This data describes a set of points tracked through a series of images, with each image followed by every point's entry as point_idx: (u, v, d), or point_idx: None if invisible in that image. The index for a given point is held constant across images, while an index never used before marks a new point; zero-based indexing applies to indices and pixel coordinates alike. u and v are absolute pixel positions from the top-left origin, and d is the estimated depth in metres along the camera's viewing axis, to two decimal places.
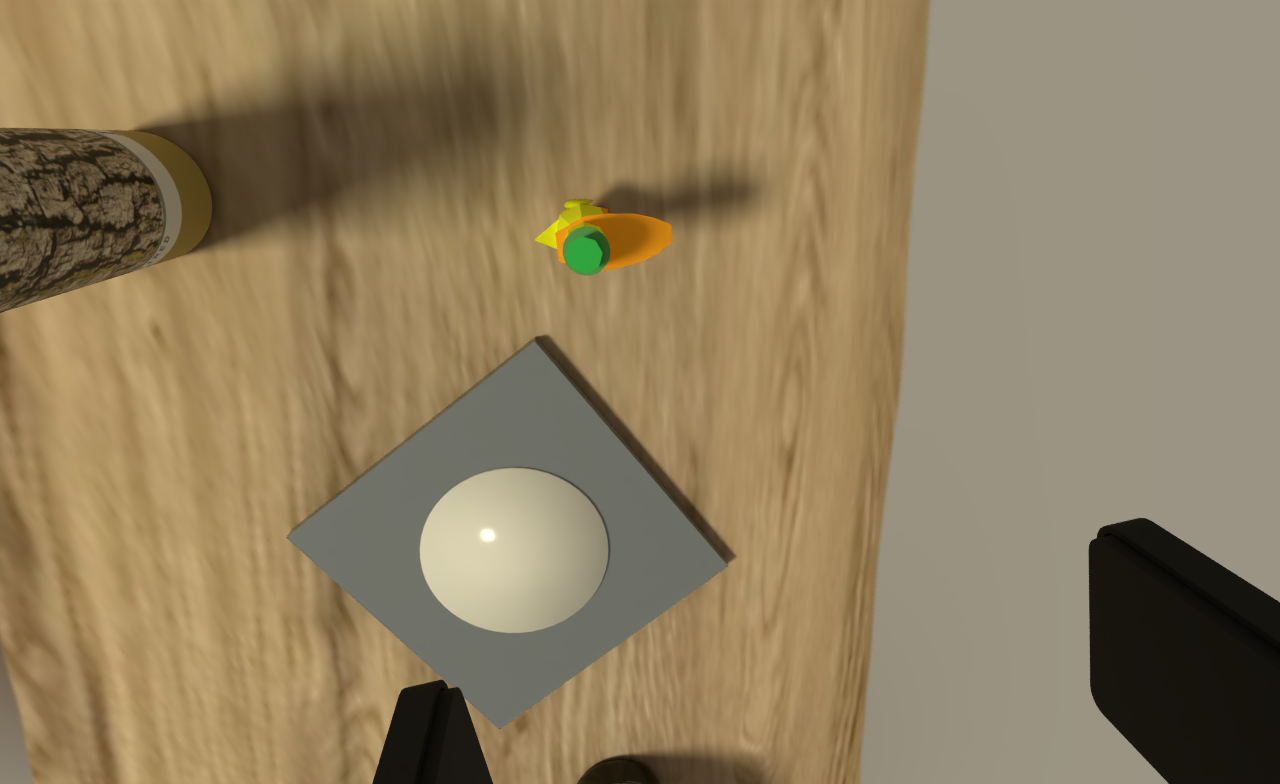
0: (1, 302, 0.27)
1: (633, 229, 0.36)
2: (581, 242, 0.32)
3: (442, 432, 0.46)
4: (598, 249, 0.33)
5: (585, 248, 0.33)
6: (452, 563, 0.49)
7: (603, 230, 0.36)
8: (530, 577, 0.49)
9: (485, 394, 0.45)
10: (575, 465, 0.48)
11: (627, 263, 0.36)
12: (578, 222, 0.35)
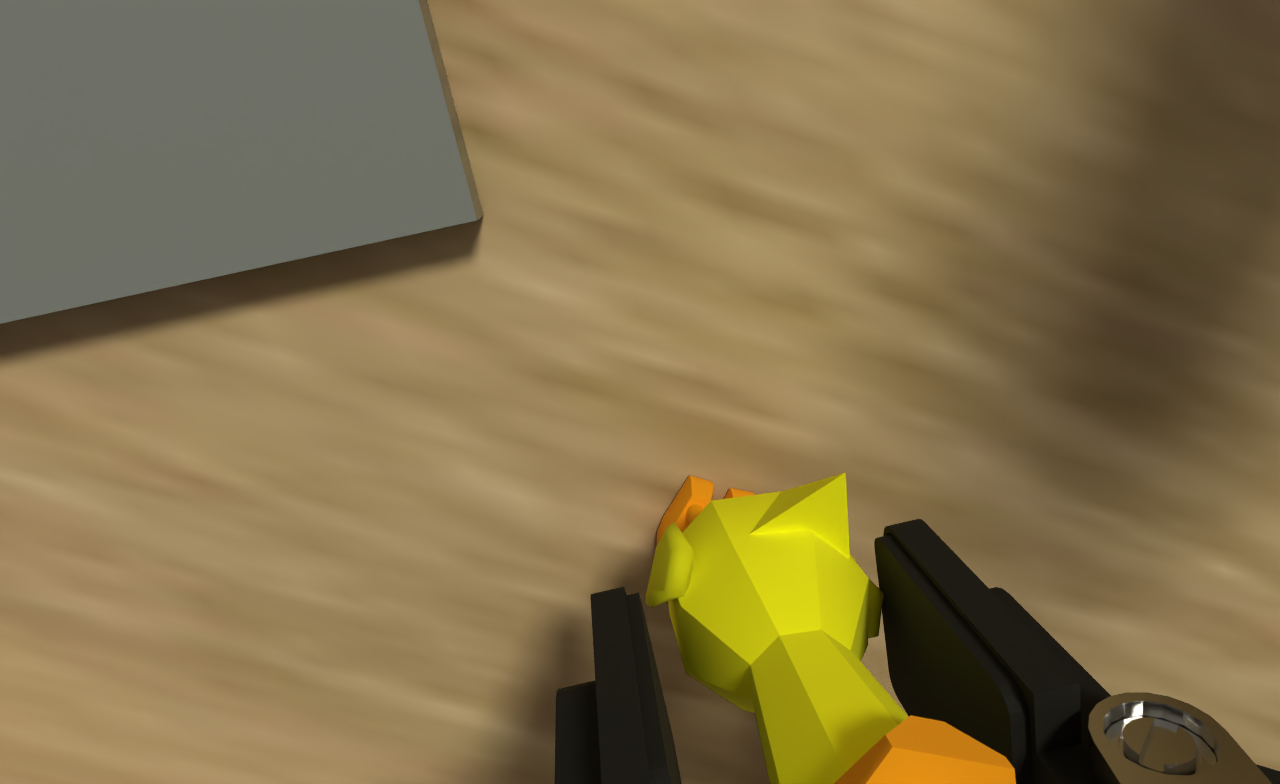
0: None
1: None
2: None
3: None
4: None
5: None
6: None
7: None
8: None
9: None
10: None
11: None
12: None
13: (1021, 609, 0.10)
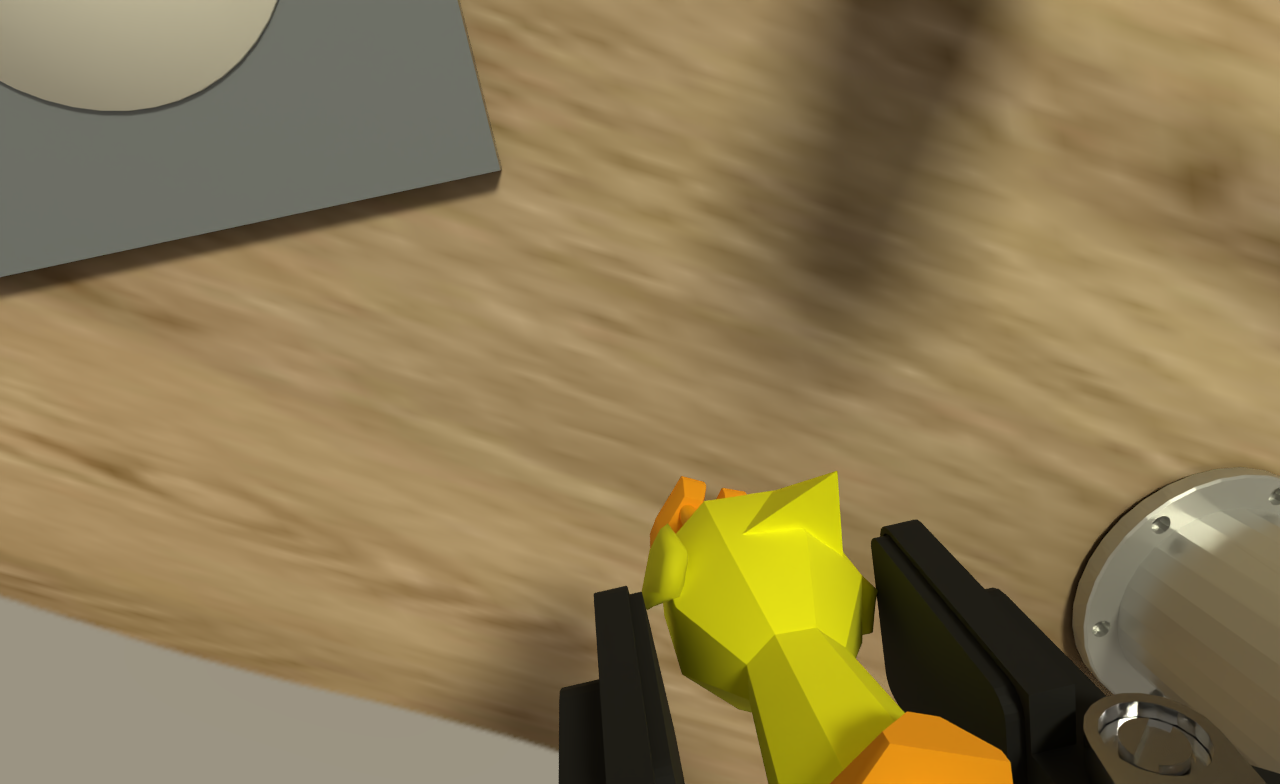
0: None
1: None
2: None
3: None
4: None
5: None
6: None
7: None
8: None
9: (443, 34, 0.24)
10: (236, 118, 0.24)
11: None
12: None
13: (1016, 609, 0.10)
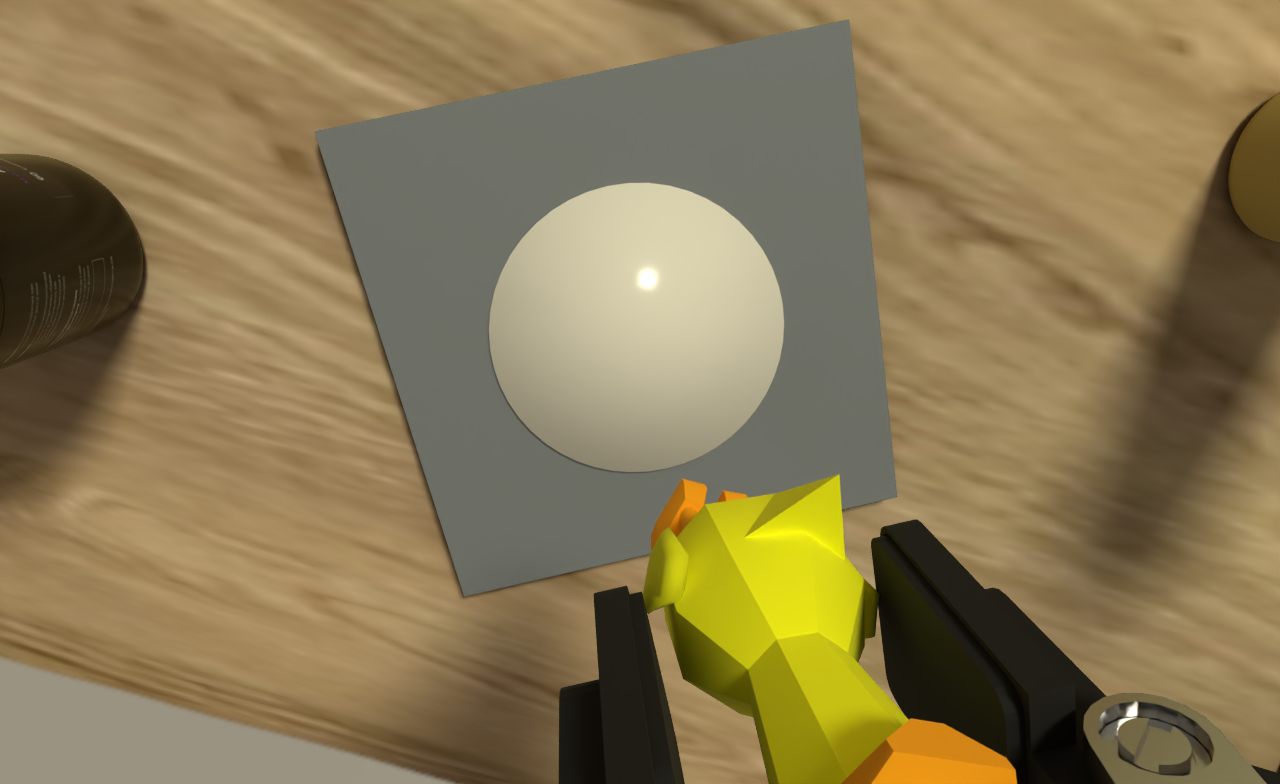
0: None
1: None
2: None
3: (859, 334, 0.32)
4: None
5: None
6: (673, 240, 0.30)
7: None
8: (589, 337, 0.31)
9: (873, 411, 0.33)
10: (719, 471, 0.33)
11: None
12: None
13: (1017, 609, 0.10)
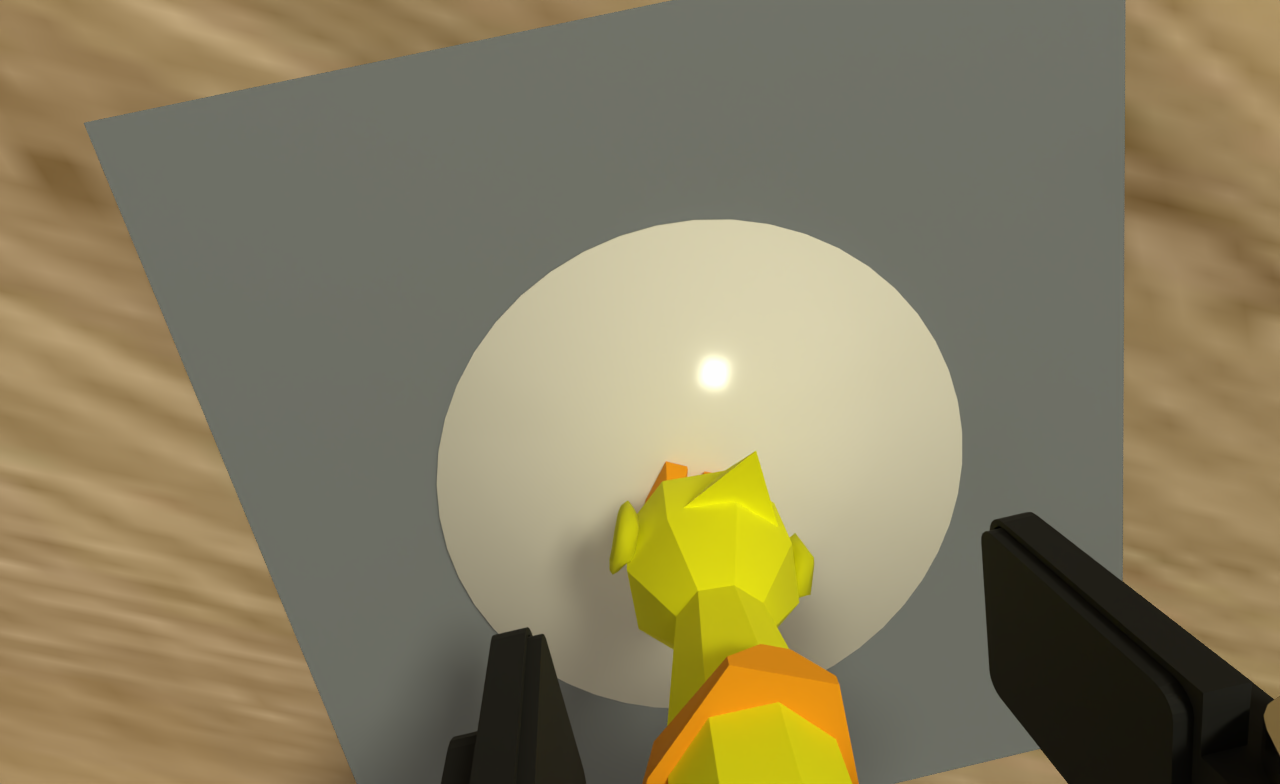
0: None
1: None
2: None
3: (1087, 477, 0.18)
4: None
5: None
6: (774, 324, 0.16)
7: None
8: (618, 493, 0.17)
9: None
10: None
11: None
12: None
13: None
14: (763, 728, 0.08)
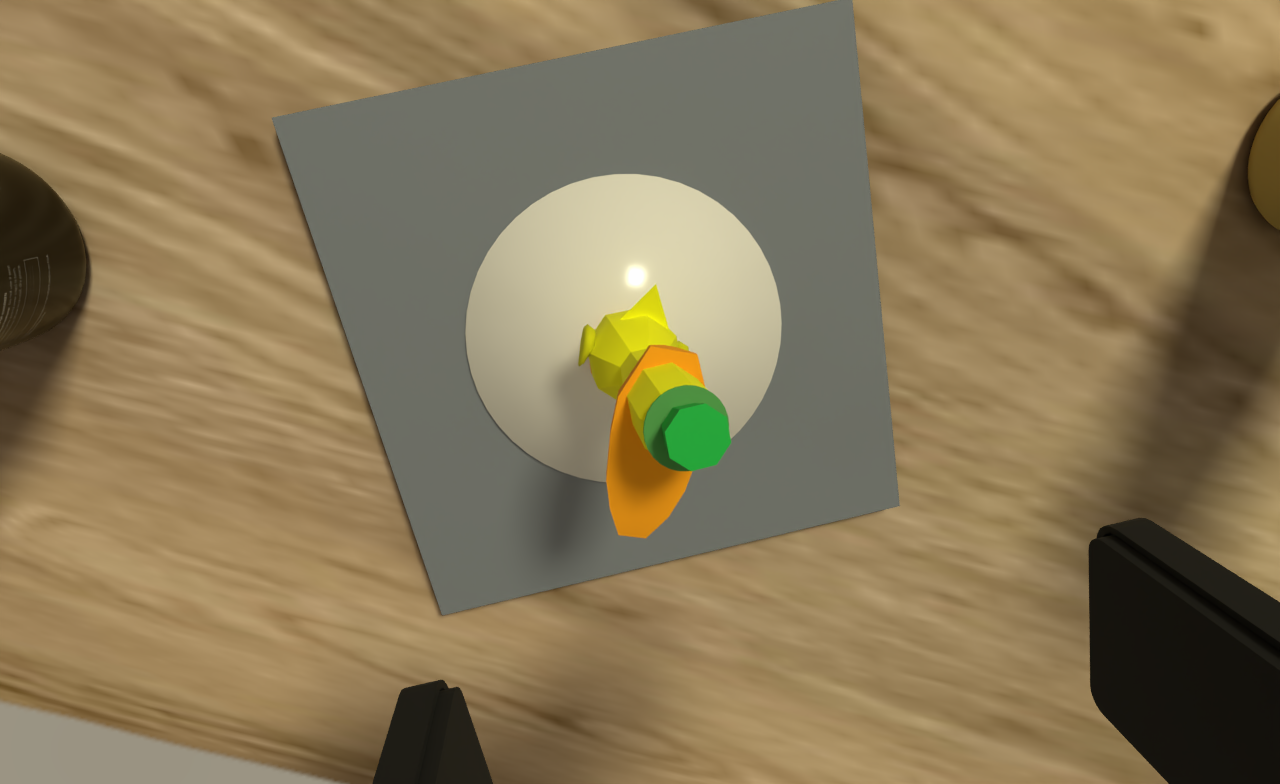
0: None
1: (661, 482, 0.21)
2: (721, 439, 0.17)
3: (861, 335, 0.30)
4: (700, 466, 0.17)
5: (708, 443, 0.17)
6: (663, 236, 0.28)
7: None
8: (574, 340, 0.28)
9: (874, 416, 0.31)
10: (713, 480, 0.31)
11: (611, 459, 0.21)
12: None
13: None
14: (666, 367, 0.20)
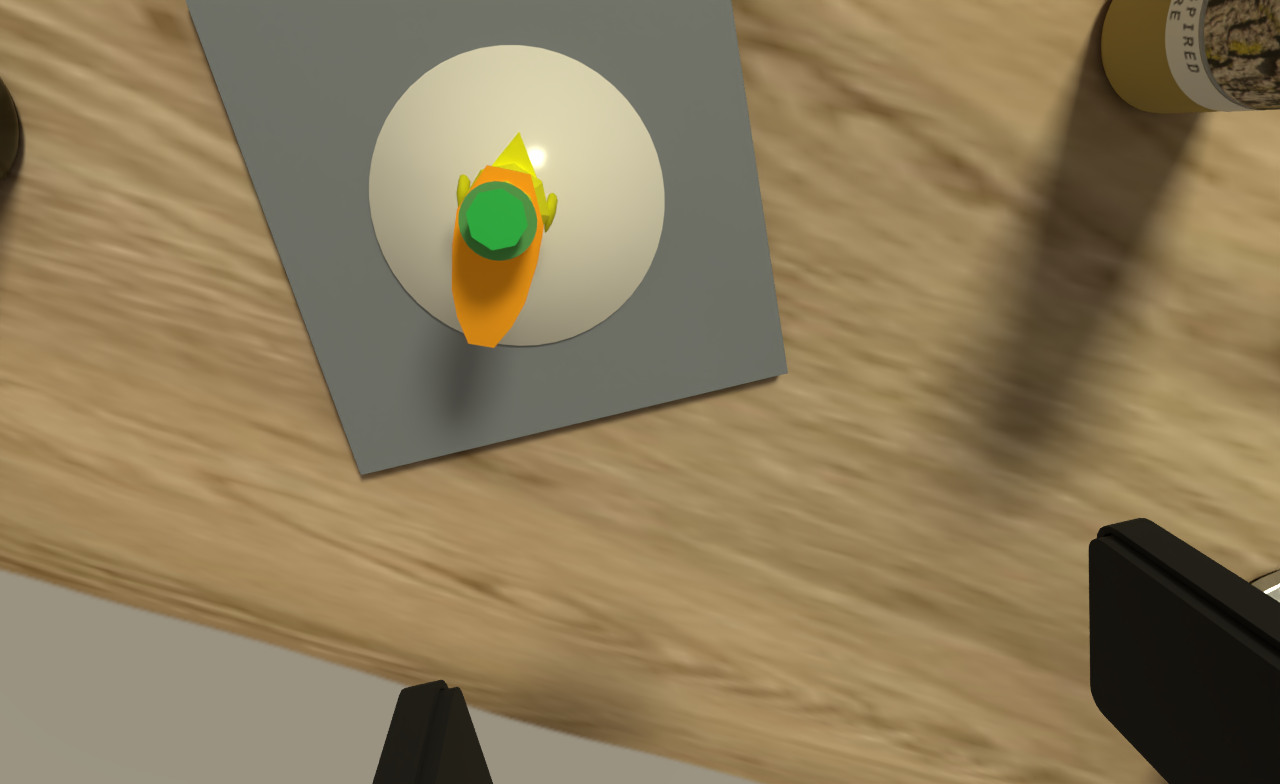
0: None
1: (503, 293, 0.24)
2: (518, 222, 0.20)
3: (741, 204, 0.32)
4: (499, 245, 0.20)
5: (506, 225, 0.20)
6: (548, 105, 0.30)
7: None
8: None
9: (758, 284, 0.34)
10: (609, 345, 0.34)
11: (454, 269, 0.23)
12: (537, 216, 0.23)
13: None
14: None
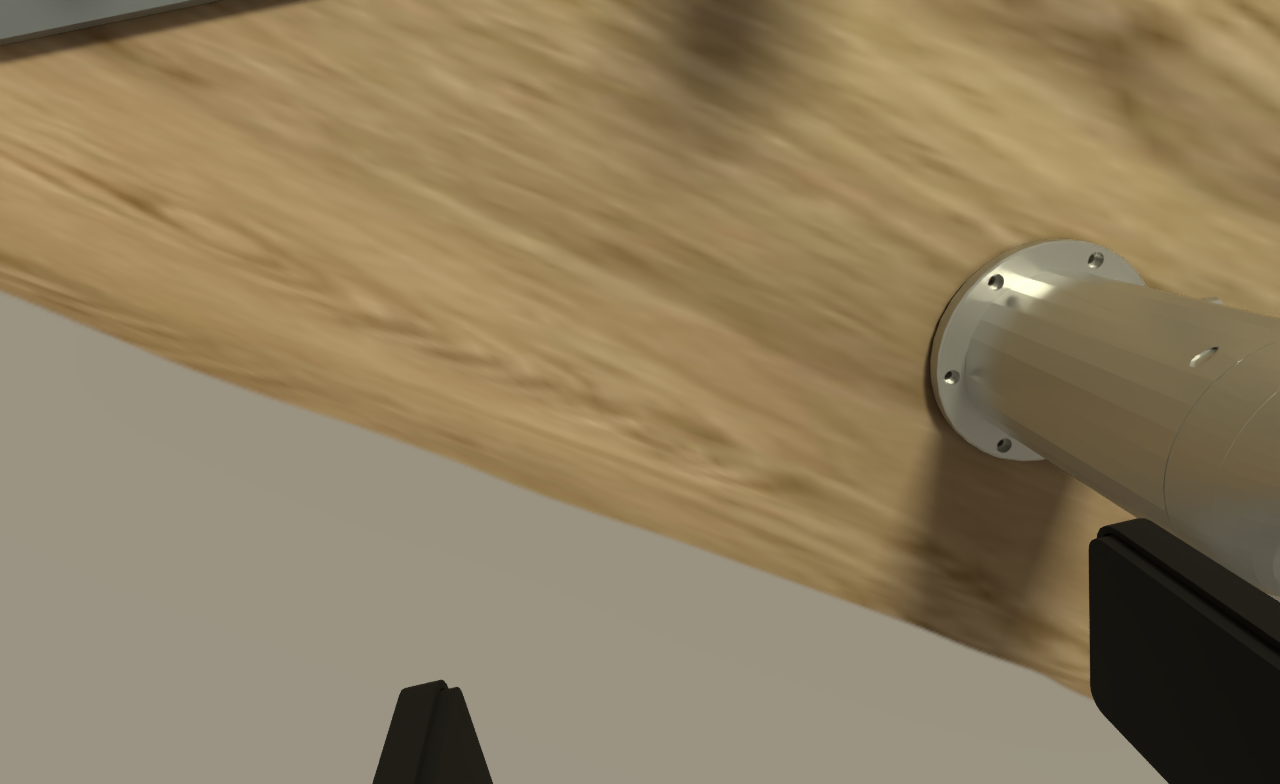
0: None
1: None
2: None
3: None
4: None
5: None
6: None
7: None
8: None
9: None
10: None
11: None
12: None
13: None
14: None
